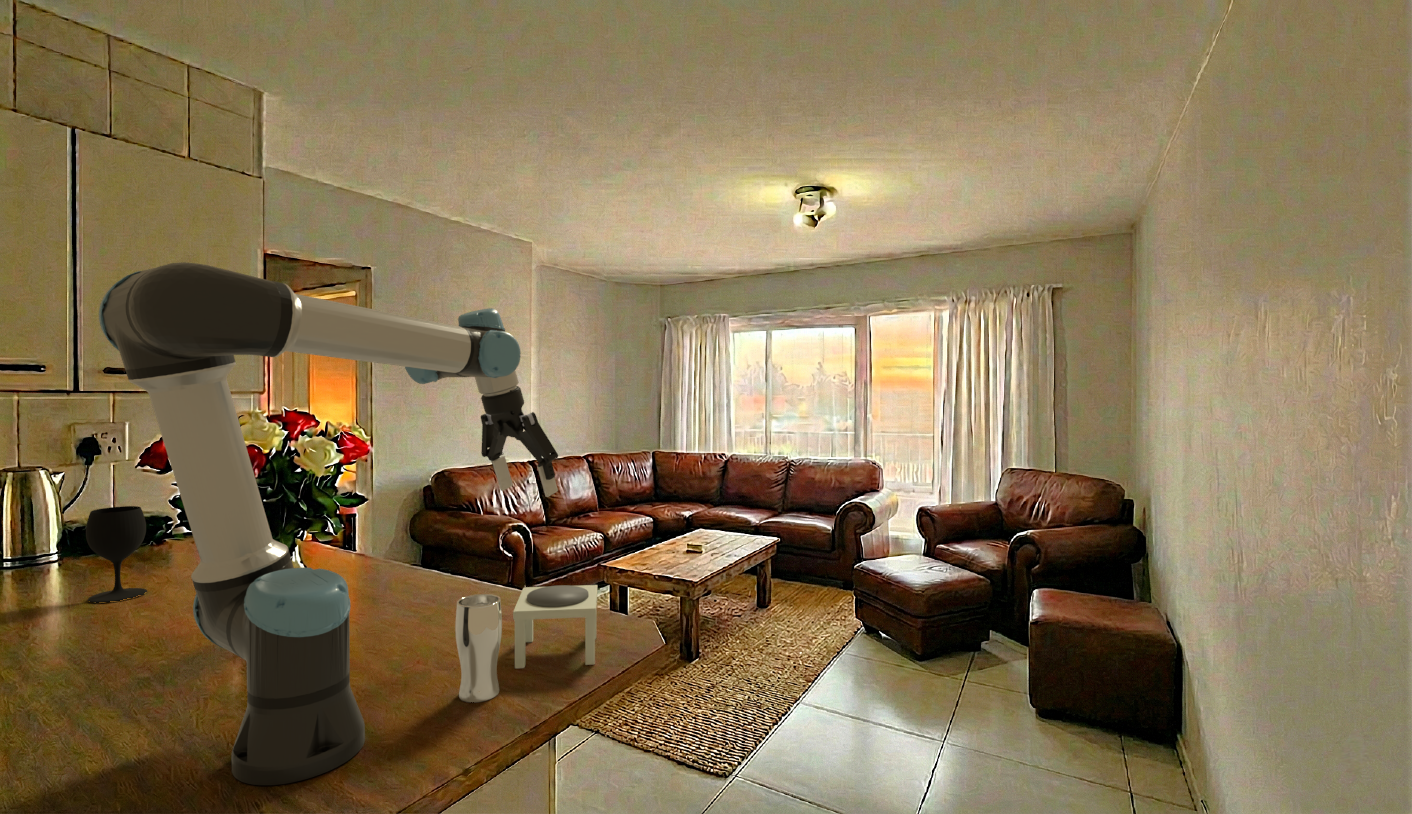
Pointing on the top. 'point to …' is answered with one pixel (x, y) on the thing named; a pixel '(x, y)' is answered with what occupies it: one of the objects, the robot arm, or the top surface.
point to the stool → (555, 614)
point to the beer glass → (478, 645)
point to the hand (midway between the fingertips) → (528, 490)
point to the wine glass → (116, 543)
